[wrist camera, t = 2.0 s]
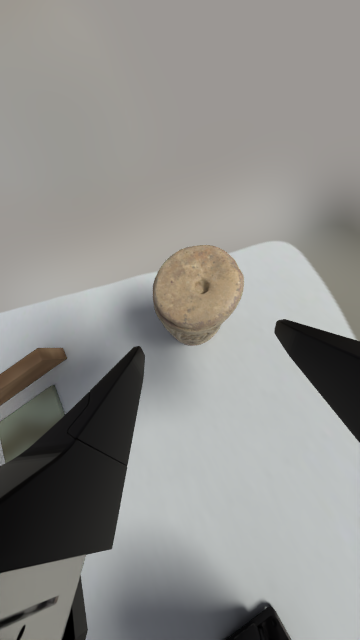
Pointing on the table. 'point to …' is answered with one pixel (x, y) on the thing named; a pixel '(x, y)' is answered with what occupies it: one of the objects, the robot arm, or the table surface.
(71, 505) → the robot arm
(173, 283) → the carving
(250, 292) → the table surface
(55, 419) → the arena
